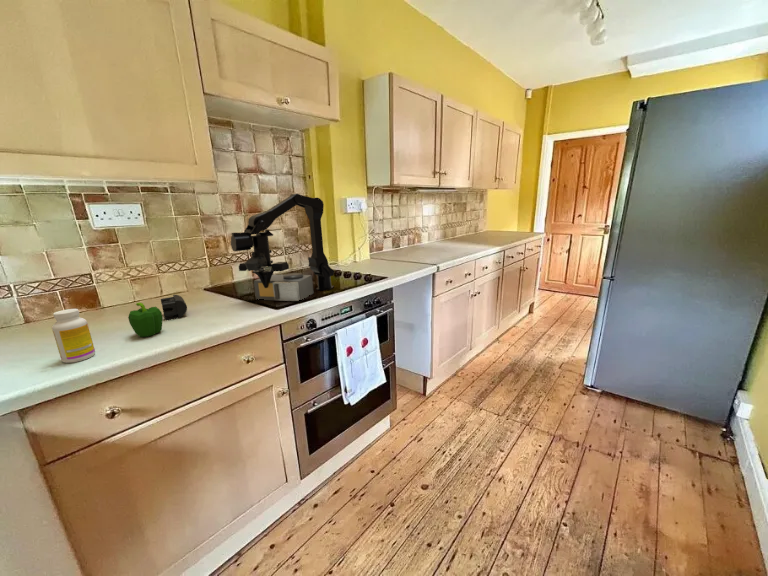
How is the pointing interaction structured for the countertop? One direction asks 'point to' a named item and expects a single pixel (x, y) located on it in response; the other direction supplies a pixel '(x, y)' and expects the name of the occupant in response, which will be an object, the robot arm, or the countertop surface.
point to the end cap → (173, 307)
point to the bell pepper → (146, 320)
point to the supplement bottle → (72, 336)
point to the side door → (286, 291)
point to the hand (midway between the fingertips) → (266, 287)
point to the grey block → (302, 280)
